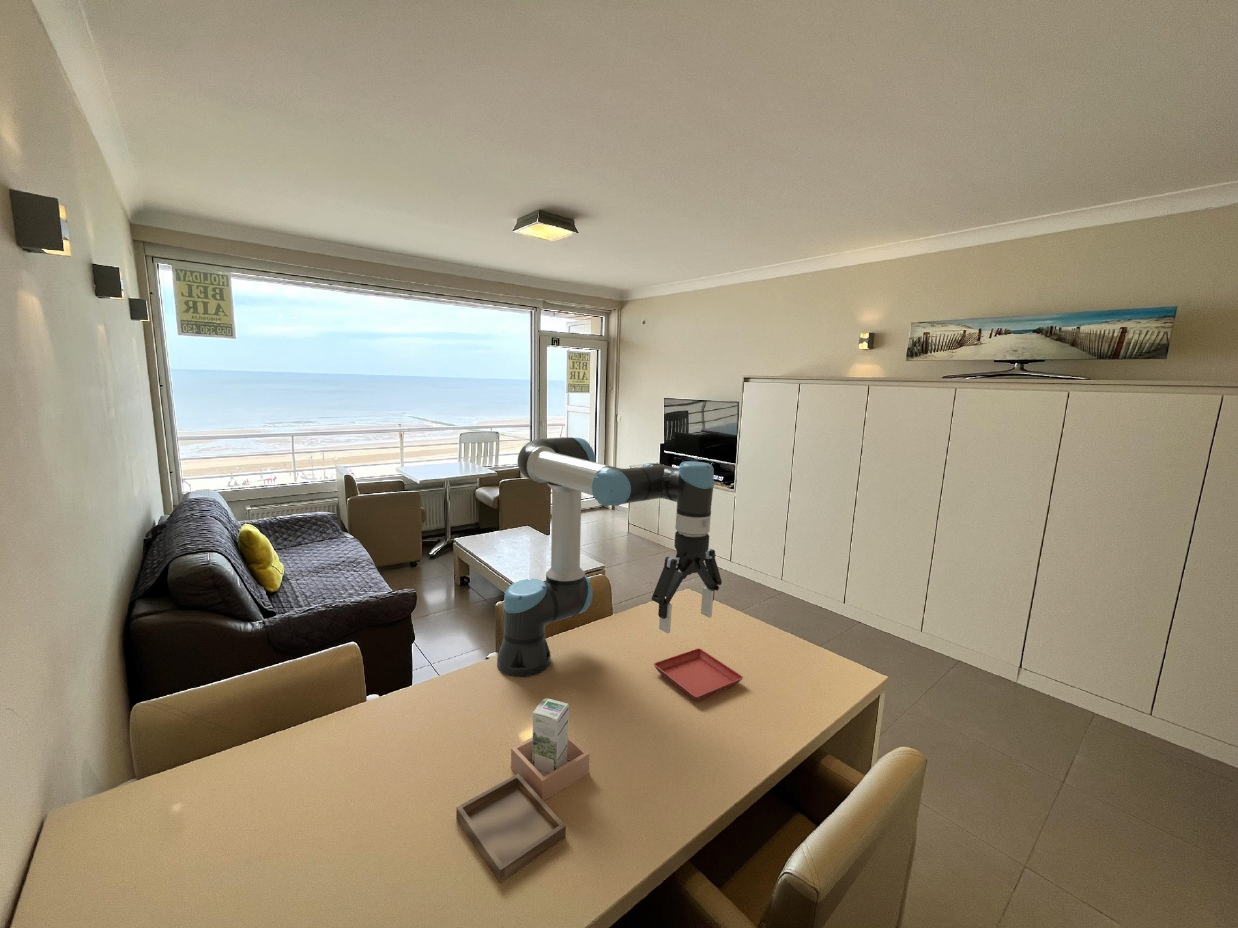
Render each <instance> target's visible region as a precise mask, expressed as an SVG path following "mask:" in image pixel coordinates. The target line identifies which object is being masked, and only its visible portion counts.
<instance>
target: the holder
mask: <svg viewBox="0 0 1238 928" xmlns="http://www.w3.org/2000/svg"><path fill="white" fill-rule="evenodd" d="M532 743H533V736H532V737H530V738H529V739H526V740H525V741H522V742H521V743H518V744H517V745H515V746H513V747H511V749H510V750H511V751H510V768H511V769H512V771H513V772H514V773H515V775H516V774H519V775H520V776H521V777H522V778H523V779H524V780H525V781H526V782H527V784H528V785H529V786H530V787H531V788H532V789H533V790H534V791H535V792H536V793H537V795H538V796H539V797H540V798H541V799H542V800H543V801H544V802H545V801H546V800H548V799H550V798H551V797H553V796H555V794H557V793H559V792H561V791H563V790H564V789H566V788H567V787H569V786H571V785H572V784H574V783H575V782H578V780H581V779H582V778H584V777H585V776H587V775H588V774H590V755H591V754H590V753H589V752H588V750H586V749H585V748H584V747H583V746H582V745H580V744H579V742H577V741H576V740H575V739H574V738H572V737H571V736H570V735H569V734H568V748H567V760H570V761H567V764H565V765H563V766H561V767H560V768H558V769H556V770H554V771H553V772H551V773H549V774H547V775H546V776H543V775H542V774H541V773H540V772H539V771H538V770H537V769H536V768H535V767H534V766H533V765H532V763H531V762H530V761H532Z"/></svg>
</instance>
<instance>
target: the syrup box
mask: <svg viewBox="0 0 1238 928" xmlns="http://www.w3.org/2000/svg"><path fill="white" fill-rule="evenodd" d="M569 717H570V704H569V703H567V702H562V701H559V700H556V699H553V698H552V699H551V698H548V697H544V698H543V699H542V700H541V702H539V704H538V705H537V706H536V708H535V709H534V710H533V711H532V737H533V743H532V760H531V762H532V763H531V764H532V765H533V766H534V767H535V768H536V769H537V770H538V771H539V772H540V773H541V774H542V775H543V776H546V775H547V774H549V773H551V772H553V771H554V770H556V769H558V768H560V767H561V766H563V765H565V764H567V763H568V758H567V748H568V735H569Z"/></svg>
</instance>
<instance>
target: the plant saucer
mask: <svg viewBox="0 0 1238 928" xmlns="http://www.w3.org/2000/svg"><path fill="white" fill-rule="evenodd" d="M653 666H654V668H655V669H656V670H657V672H658V673H659V674H660V675H661V676H662V677H663V678H665V679H666V680H667V681H669V682H670V683H671V684H672V685H674V687H676V688H677V689H679V690H680V691H681V692H683V693H684V694H685V695H687V696H688V697H689V698H690V699H691V700H693V701H695V702H698V701H701V700H702V699H706V698H707V697H710V696H713V695H714V694H717V693H719V692H723V691H725V690H727V689H728V688H729V689H730V688H732V687H734V686H735V685H737V684H738V683H740V682H741V681H742V680H743V679H744V676H743V675H741V674H739V672H737V671H735V670H734V669H732V668H730V667H729V666H727V665H726V663H725V664H724V663H723V662H722V661H720V660H719V659H717V658H715V657H714V656H712V655H711V654H709V653H708V652H706V651H704V649H701V648H699V647H698V648H695V649H691V650H688V651H686V652H682V653H680V654H677V655H674V656H671V657H668V658H665V659H662V660H659V661H656V662H654V663H653Z"/></svg>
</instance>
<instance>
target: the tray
mask: <svg viewBox="0 0 1238 928" xmlns="http://www.w3.org/2000/svg"><path fill="white" fill-rule="evenodd" d="M455 811H456V812H455V813H456V815H455V816H456V820H457V822H458V823H459V825H460V827H461V828H462V829H463V831H464V833H465V834H466V835H467V837H468V838H469V839H470V841H471V843H472V845H474V847H475V848H476V850H477V851H478V853H479V854H480V855H481V857H482V859H483V860H484V861H485V864H486V865H487V866H488V867H489V869H490V870H491V872H492V873H493V875H494V877H495V878H496V879H497V880H498V882H499V884H501V883H503V882H505V880H507V879H508V878H511V876H513V875H514V874H515V873H518V872H519V871H520V870H521V869H523V868H525V867H526V866H527V865H529V864H530V863H531V862H533V861H535V859H537V858H539V857H540V856H541V855H543V854H544V853H546V852H547V851H549V850H550V849H551V848H553V847H554V846H556V845H557V844H559V843H560V842H561V841H563V840H565V839H566V836H567V835H566V832H567V830H566V829H567V826H566V824H565V822H563V821H562V820H561V819H560V817H559V816H558V815H557V814H556V813H555V812H554V811H553V810H552V809H551V807H549V805H548V804H547V803H546V802H545V801H543V800H542V799H541V798H540V797H539V796H538V795H537V793H536V792H535V791H534V790H533V789H532V788H531V787H530V786H529V785H528V784H527V782H526V781H525V780H524V779H523V778H522V777H521V776H520V775H519V774H516V773H515V775H512V776H511V777H509V778H507V779H506V780H504V781H501V782H500V783H498V784H496V785H494V786H492V787H491V788H489V789H486V790H485V791H484V792H482V793H480V794H478V795H476V796H474V797H472V798H471V799H469V800H466V801H465V802H463V803H461V804H460V805H458V806H457V807H456V810H455Z"/></svg>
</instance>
